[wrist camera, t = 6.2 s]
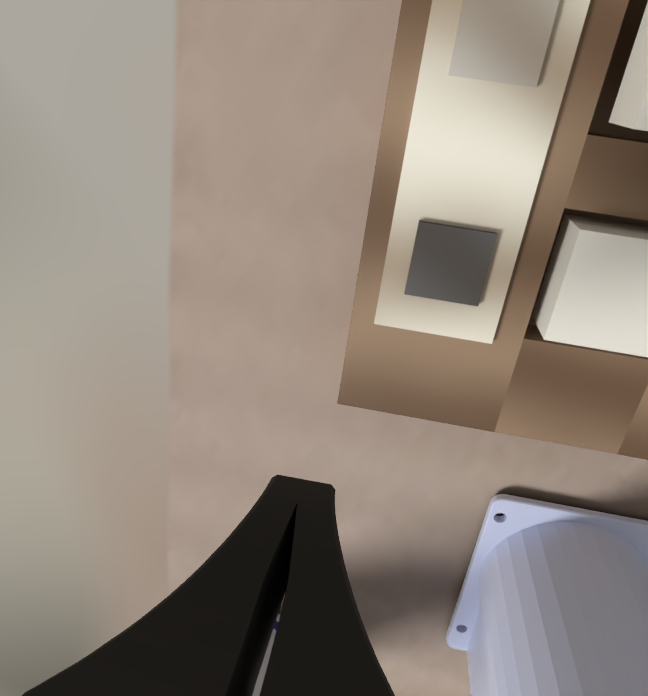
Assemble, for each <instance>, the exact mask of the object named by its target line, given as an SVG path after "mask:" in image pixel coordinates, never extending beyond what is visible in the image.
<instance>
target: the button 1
mask: <svg viewBox="0 0 648 696" xmlns="http://www.w3.org/2000/svg"><path fill="white" fill-rule="evenodd" d="M532 317H533V319H534V321H535V323H536V325H537V327H538V329H539V331H540V333H541V335H542V337H543V339H544V340H548V341H554V342H560V343H566V344H572V345H578V346H584V347H590V348H595V349H601V350H607V351H613V352H619V353H625V354H631V355H637V356H643V357H648V227H645V226H638V225H632V224H625V223H619V222H612V221H606V220H599V219H593V218H586V217H580V216H574V215H567V214H564V216H563V219H562V222H561V225H560V229H559V232H558V235H557V238H556V241H555V244H554V248H553V251H552V254H551V257H550V260H549V264H548V267H547V270H546V273H545V276H544V280H543V283H542V286H541V289H540V292H539V295H538V299H537V302H536V305H535V308H534V311H533V315H532Z"/></svg>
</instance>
